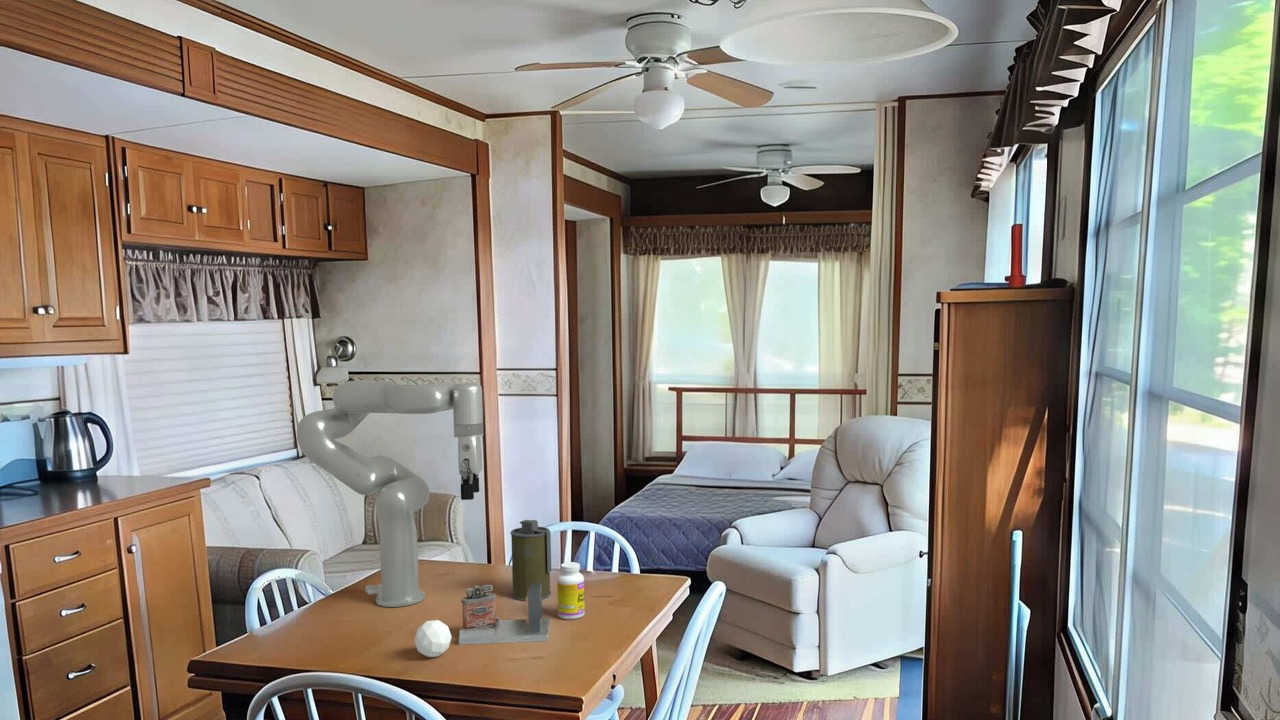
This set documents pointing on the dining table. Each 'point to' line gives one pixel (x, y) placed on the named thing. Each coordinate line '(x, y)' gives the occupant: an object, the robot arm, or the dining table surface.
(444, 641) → the geometric ball
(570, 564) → the supplement bottle
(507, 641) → the finger rail
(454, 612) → the dining table surface
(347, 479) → the robot arm
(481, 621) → the lighter
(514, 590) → the canister
